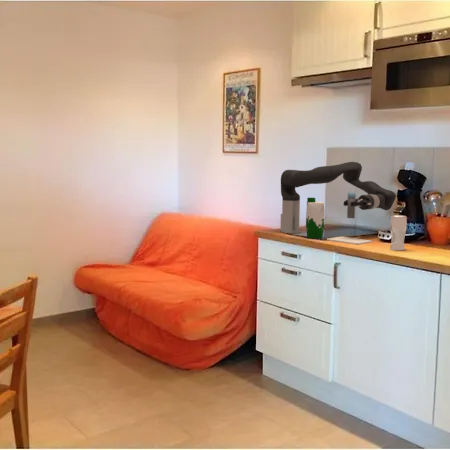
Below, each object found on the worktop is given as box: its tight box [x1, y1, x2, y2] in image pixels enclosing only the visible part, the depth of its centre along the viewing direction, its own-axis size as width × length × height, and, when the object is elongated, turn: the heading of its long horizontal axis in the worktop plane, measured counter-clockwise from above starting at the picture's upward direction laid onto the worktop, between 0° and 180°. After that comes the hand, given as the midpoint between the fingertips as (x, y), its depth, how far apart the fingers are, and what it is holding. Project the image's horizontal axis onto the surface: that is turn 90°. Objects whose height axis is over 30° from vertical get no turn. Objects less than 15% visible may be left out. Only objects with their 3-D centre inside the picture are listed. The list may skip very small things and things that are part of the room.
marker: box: [346, 191, 357, 219], centre depth 281 cm, size 4×4×12 cm
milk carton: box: [305, 197, 325, 239], centre depth 290 cm, size 9×9×20 cm
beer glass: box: [389, 214, 408, 251], centre depth 257 cm, size 7×7×15 cm
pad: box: [326, 236, 373, 245], centre depth 280 cm, size 18×12×1 cm, turn 42°
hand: (347, 203), depth 279 cm, fingers closed on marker, 3 cm apart
